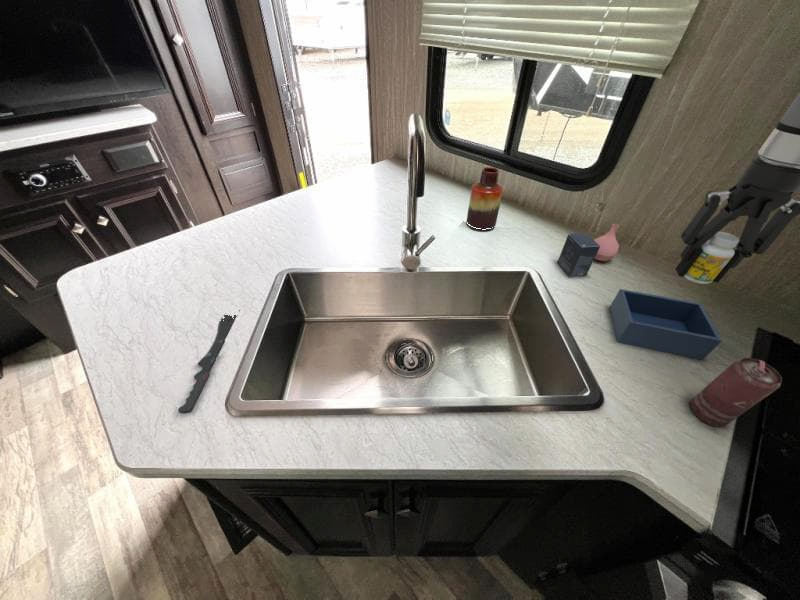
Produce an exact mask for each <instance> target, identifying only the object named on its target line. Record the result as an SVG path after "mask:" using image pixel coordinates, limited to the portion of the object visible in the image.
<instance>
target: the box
mask: <svg viewBox="0 0 800 600" xmlns="http://www.w3.org/2000/svg"><path fill="white" fill-rule="evenodd" d="M594 240H595V239H593V238H592V237H591V236H590V235H589V234H588V233H586V232H574V233H573V232H572V233H568V234H567V237H566V239H565V242H564V244H563V247H562V250H561V252H560V254H559V257H558V259H557V264H558V265H559V267H561V269H562V270H563V271H564V273H565V274H566V275H567V276H568V277H569V278H572V277H573V278H574V277H586V276H587V275H588V273H589V271H590V269H591V267H592V265H593V263H594V261H595V260H596V259H595V257H596V255H597V252H598V250H599V248H600V245H599V244H597V243H596V242H595V241H594Z"/></svg>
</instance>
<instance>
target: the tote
mask: <svg viewBox="0 0 800 600" xmlns="http://www.w3.org/2000/svg"><path fill="white" fill-rule="evenodd" d="M608 309H609V310H608V311H609V314H610V318H611V323H612V327H613V331H614V335H615V339H616V342H617V343H622V344H625V345H631V346H636V347H640V348H645V349H648V350H649V349H650V350H654V351H659V352H664V353H668V354H673V355H677V356H682V357H687V358H692V359H696V360H700V361H704V359H705V358H706V357H707V356H709V355H710V354H711V352H713V350H715V349H716V348H717V347H718V345H720V344H721V343H722V342H723V340H722V338H721V336H720V335H719V332H718V331H717V329H716V327H715V326H714V324H713V322H712V321H711V319H710V316H709V315H708V313H707V311H706V310H705V308H704V306H703V304H702V303H701V302H696V301H690V300H684V299H679V298H673V297H667V296H662V295H657V294H651V293H645V292H639V291H634V290H629V289H623V288H620V289H619V290H618V292H617V293H616V294H615V297H614V299H613V300H612V302H611V304H610V305H609V307H608Z"/></svg>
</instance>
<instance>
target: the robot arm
mask: <svg viewBox="0 0 800 600" xmlns="http://www.w3.org/2000/svg"><path fill="white" fill-rule="evenodd" d="M757 154H758V156H755V157H753V158H752V159H751V161H750V162H749V163H748V165H747V166H746V167H745V169H744V170H743V172H742V173H741V175H739V178H738V180H737V182H736V183H735V184H734V185H733V186H732V187H730V188H729V189H728V190H726V191H724V190H723V191H718V192H716V191H715V190H709V191H707V193H706V194H705V198H704V202H703V204H702V205H701V207H700V208H699V209H698V211H697V212H696V214H695V215H694V217H693V218H692V219H691V220H690V222H689V223H688V225H687V226H686V227H685V229H684V230H683V232H682V233H681V235H680V238H681V240H682V242H683V244H685V245H686V246H685V247H684V249H683V251H681V253H680V255H679V256H680V259H681V260H680V262H679V263H678V264H677V266H676V267H675V269H674V270H675V271H676V273H677V275H678V277H682V278H685V277H684V275H685V274H686V273H687V271H688V270H689V269H690V267H691V266H692V265H693V263H694V262H695V261H696V259H697V258H698V257H699V255H700V254H701V253H702V251H703V250H702V248H701V246H702V245H703V244H705V243H706V242H707V241H710V238H712V237H713V236H714V235H715V234H716V233H718V232H721V231H722V230H723V229H724V228H725V227H726V226H728V225H729V224H730V223H731V222H734V221H736V220H737V219H738V218H739V217H747V220H746V222H745V225H744V227H743V229H742V232H741V235H740V236H739V240H740V241H739V242H738V244H737V245H736V246H735V247H736V248H733V249H734V251H735V253H734V256H733V257H732V258H731V259H730V261H729V262H728V263H727V264H726V265H725V267H724V268H723V269H722V270H721V272H720V273H719V274H718V275H717V277H716V278H715V279H714V280H713V281H712V283H718V284H719V282H720V281H721V280H722V279H723V277H724V276H726V274H727V273H728V272H729V270H730V269H735V268H737V267H738V265H740V263H742V261H743V260H744V258H745V259H748V258H751V257H753V254H756V255H762V254H764V253H765V252H766V251H767V250H768V249H769V248H770V246H771V245H772V244H773V243H774V242H775V240H776V239H777V238H778V237H779V236H780V234H781V233H782V232H783V231H784V230H785V229H786V227H787V226H788V225H789V224H790V223H791V222H792V220H793V219H794V218H796V217H797V216H799V215H800V200H799V199H793V195H794V193H795V192H797V191H799V190H800V91H799V92H798V93H797V95H796V96H795V98H794V99H793V101H792V103H791V104H789V107H788V108H787V110H786V111H785V113H783V115H782V117H781V118H780V120H779V122H778V123H777V125H776V126H775V127H774V129H772V131H771V133H770V134H769V136H768V137H767V139H766V140H765V141H764V143H763V144H762V145H761V147H760V149H759V150H758V151H757ZM725 200H727V203H726V204H725V205H724V206H723V207H721V208H720V210H719V212H718V214H716V215H715V216H714V214H715V213H716V211H717V209H718V208H719V206H722V205H723V203H724V201H725ZM777 209H778V210H777ZM775 210H777V211H776V212H775V213H774V214H773V215H772V217H771V218H770V219H769V217H770V214H771V213H772V212H773V211H775ZM712 216H714V217H713V218H712ZM711 218H712V219H711ZM765 223H766V224H765ZM764 224H765V226H764Z"/></svg>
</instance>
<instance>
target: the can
mask: <svg viewBox="0 0 800 600" xmlns="http://www.w3.org/2000/svg"><path fill="white" fill-rule="evenodd" d="M782 382H783V377H782V375H781V374H780V372H779V371H778V370H777V369H775V367H773V366H771V365H770V364H768V363H766V362H765V361H764V360H762V359H758V358H757V359H756V358H754V357H753V358H752V357H744V358H740V359H737V360H735V361H734V362H733V363H731V364H730V365H729V366H728V367H727V368H726V369H724V370H723V372H721V373H720V374H719V375H718V376H717V377H716V378H714V379H713V380H712V381H710V383H709V384H708V385H706V386H705V387H704V388H703V389H701V390H700V392H698V393H697V394H696V395H695V396H694V397H693V398H692V399H691V400H690V409H691V411H692V413H693V414H694V415H695V416H696V417H697V418H698V419H699V420H701V422H704V423H706V424H708V425H711V426H713V427H726V426H727V425H729V424H730V423H732V422H733V421H734V420H736V419H737V418H739V417H740V416H741V415H743V414H744V413H746V412H747V411H749V410H750V409H751V408H753V407H754V406H755V405H757V404H758V403H760V402H762V401H763V400H764V399H765V398H767V397H768V396H770V395H771V394H772V393H774V392H776V391H777V390H778V389H779V388H780V387H781V385H782Z"/></svg>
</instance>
